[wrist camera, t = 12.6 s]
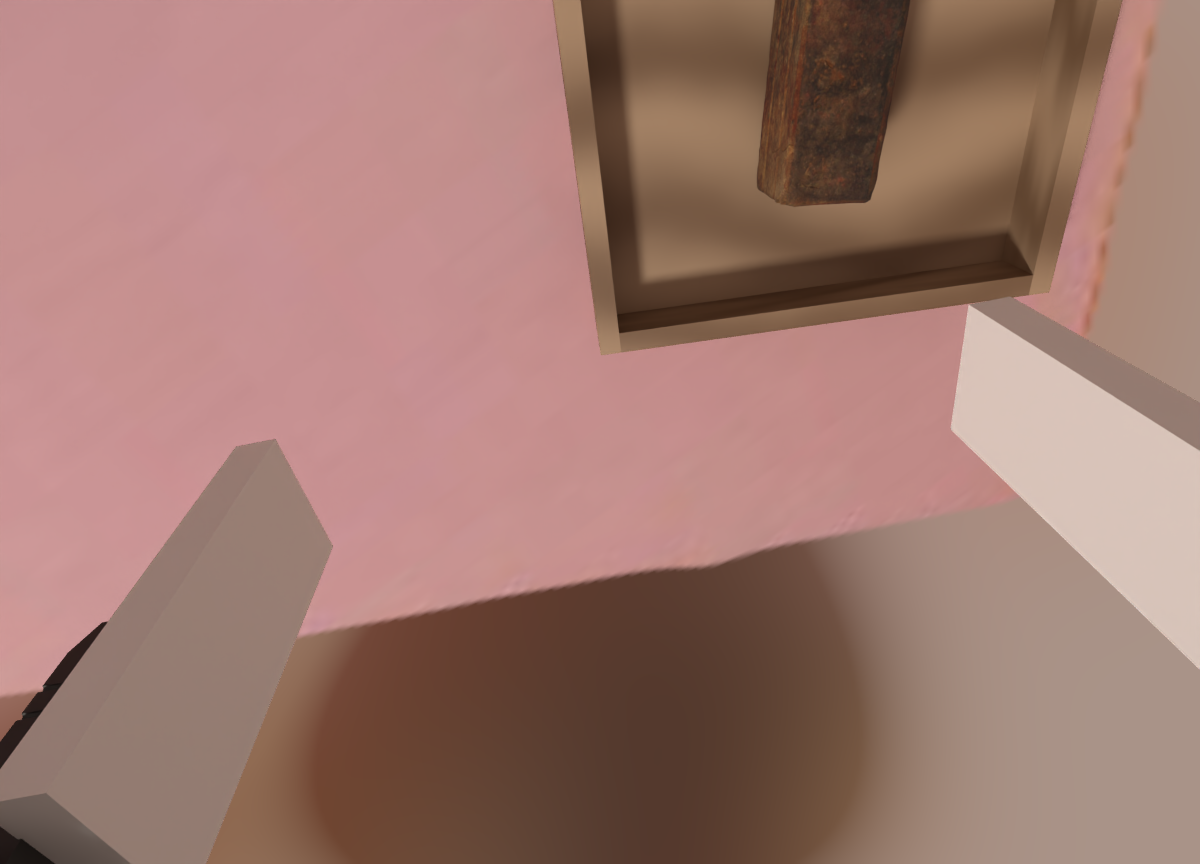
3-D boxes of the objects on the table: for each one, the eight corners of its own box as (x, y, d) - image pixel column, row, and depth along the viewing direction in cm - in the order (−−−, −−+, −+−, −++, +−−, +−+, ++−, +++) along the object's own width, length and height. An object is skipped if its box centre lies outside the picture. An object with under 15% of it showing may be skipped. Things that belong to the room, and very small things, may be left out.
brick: (834, 185, 30) (877, 206, 26) (751, 188, 30) (782, 208, 26) (881, -103, 25) (945, -133, 21) (780, -103, 25) (825, -133, 21)
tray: (519, -246, 23) (514, -287, 20) (1137, -338, 23) (1220, -393, 20) (597, 329, 34) (601, 355, 31) (1008, 271, 34) (1049, 292, 31)
